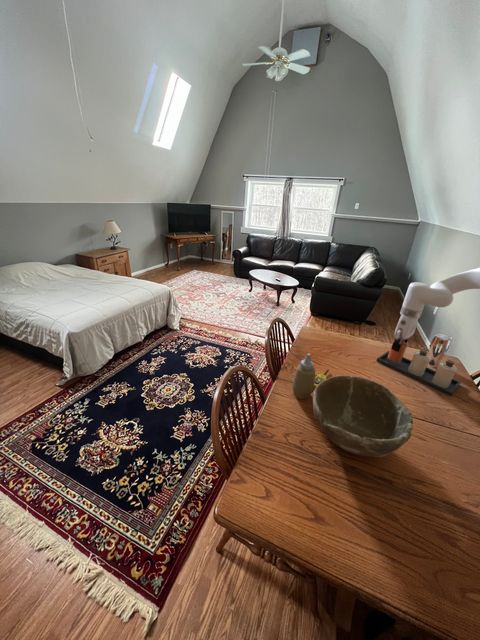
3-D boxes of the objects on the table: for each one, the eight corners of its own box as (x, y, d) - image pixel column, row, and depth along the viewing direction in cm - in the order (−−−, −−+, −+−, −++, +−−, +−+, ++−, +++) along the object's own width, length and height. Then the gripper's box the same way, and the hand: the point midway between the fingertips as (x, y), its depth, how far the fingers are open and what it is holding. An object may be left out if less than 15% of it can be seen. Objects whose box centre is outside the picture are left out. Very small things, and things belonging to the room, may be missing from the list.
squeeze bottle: (305, 404, 97) (313, 363, 89) (286, 394, 102) (292, 354, 94) (316, 394, 103) (324, 354, 95) (298, 384, 107) (304, 345, 100)
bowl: (360, 501, 67) (376, 460, 61) (289, 427, 87) (295, 391, 81) (417, 452, 81) (435, 415, 74) (344, 398, 101) (353, 365, 95)
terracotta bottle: (403, 359, 123) (411, 338, 118) (398, 363, 120) (405, 342, 115) (390, 354, 127) (397, 333, 122) (385, 358, 124) (392, 337, 119)
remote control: (309, 381, 106) (323, 365, 117) (308, 385, 107) (322, 368, 118) (320, 387, 104) (334, 369, 114) (319, 391, 104) (333, 373, 115)
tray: (459, 386, 111) (461, 382, 110) (450, 397, 104) (452, 393, 103) (387, 354, 131) (388, 350, 131) (375, 362, 125) (377, 358, 124)
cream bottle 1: (425, 373, 117) (434, 351, 113) (420, 378, 114) (429, 356, 109) (411, 366, 121) (419, 346, 117) (405, 371, 118) (413, 350, 113)
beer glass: (422, 365, 124) (434, 337, 117) (423, 359, 129) (434, 331, 123) (440, 371, 120) (453, 342, 114) (440, 364, 125) (453, 336, 119)
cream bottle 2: (450, 384, 111) (461, 362, 106) (446, 390, 107) (456, 367, 103) (434, 377, 115) (444, 355, 110) (429, 382, 111) (439, 360, 107)
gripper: (412, 319, 106) (398, 358, 113) (428, 310, 116) (414, 346, 123) (392, 313, 111) (381, 350, 119) (409, 304, 121) (397, 339, 129)
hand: (398, 347), depth 121 cm, fingers closed on terracotta bottle, 5 cm apart
